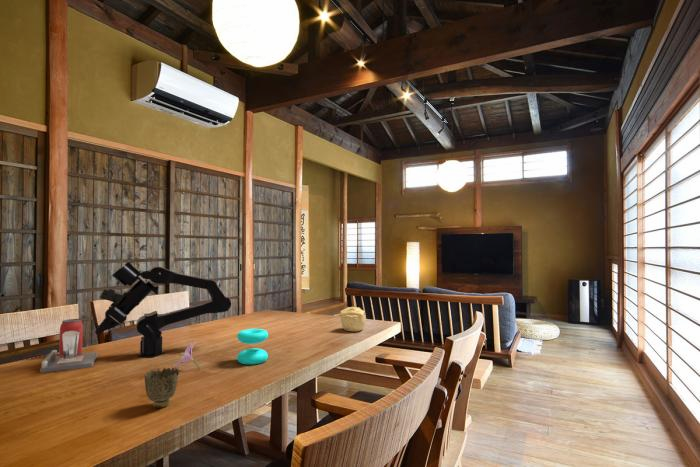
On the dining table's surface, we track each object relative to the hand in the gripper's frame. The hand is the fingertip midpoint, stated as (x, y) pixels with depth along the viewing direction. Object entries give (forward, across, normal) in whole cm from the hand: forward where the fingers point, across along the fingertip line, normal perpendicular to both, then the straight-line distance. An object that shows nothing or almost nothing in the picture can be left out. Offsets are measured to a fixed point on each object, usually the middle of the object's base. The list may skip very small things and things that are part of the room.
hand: (97, 330), depth 131 cm
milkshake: (+11, 0, +1) cm, 11 cm away
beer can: (+14, -13, 0) cm, 18 cm away
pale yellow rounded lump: (-62, -5, +78) cm, 99 cm away
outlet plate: (+12, 0, +2) cm, 12 cm away
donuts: (-25, +24, +40) cm, 53 cm away
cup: (-5, +51, +20) cm, 55 cm away
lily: (-10, +24, +25) cm, 36 cm away
